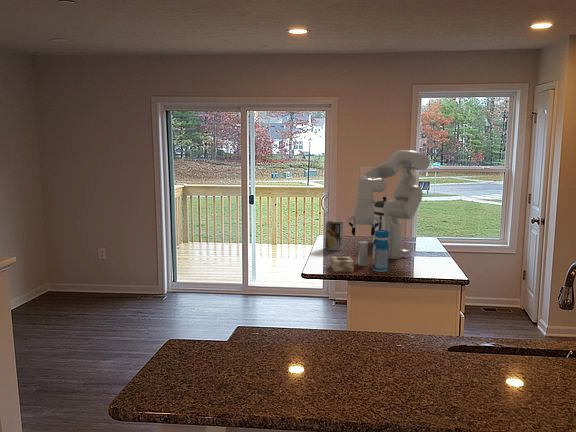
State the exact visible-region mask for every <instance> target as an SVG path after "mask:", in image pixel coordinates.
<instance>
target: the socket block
mask: <svg viewBox="0 0 576 432" xmlns="http://www.w3.org/2000/svg"><path fill="white" fill-rule="evenodd" d="M354 266H355V262H354V260H353V258H352V257H351V256H330V268H331V270H332V271H333V272H354V270H355V269H354Z"/></svg>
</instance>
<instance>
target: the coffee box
mask: <svg viewBox="0 0 576 432" xmlns="http://www.w3.org/2000/svg"><path fill="white" fill-rule="evenodd" d="M343 231H344V222H342V221H331V220H329V221H326V222H325V246H324V249H325V251H328V250H329V251H336V252H337V251H339V252H340V251H342V250H343V239H344V238H343V234H344V233H343Z"/></svg>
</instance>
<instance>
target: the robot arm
mask: <svg viewBox="0 0 576 432" xmlns="http://www.w3.org/2000/svg"><path fill="white" fill-rule="evenodd" d="M430 163H431V162H430V158H429V157H428V155H426V154H423V153H421V152H418V151H415V150H407V149H406V150H405V149H402V150H401V149H400V150H395V152H393V153H392V154H391V156H389V157H388V158H387V160H385V161H384V163H382V164H379V165H377V166H375V167H373V168H371V169H369V170H368V171H366V172H365V173H364V174H363V175H362V177H361V178H359V179H358V187H357V188H358V189H357V201H356V202H357V203H356V204H355V206H354V212H353V215H352V216H350V217H348V218H347V219H346V221H347V222H348V225H349V226H351V234H352V236H355V237H356V226H357V225H360V226H363V225H367V226H371V228H370V230H371V231H370V235H371V236H372V237H373V236H374V234H375V228H376V227H377V226H378V225H379V223H380V221H381V220H380V219H378V218H376V217H375V216H374V204H375V202H376V200H374V197H373V196H374V193H382V192H384V191H385V190H386V188H387V181H386V180H385V179H389V178H391V177H392V178H393V177H394V176H395V175H397V174H398V172H399V171H400V172H401V174H400V178H399V181H398V182H397V185H396V186H395V189H394V191H393V198H394V199H388V200H386V201H387V202H385V204H384V207H383V211H384V221H385V223H384V230H387V231H389V237H388V238H387V239H388V241H389V244H390V246H389V249H390V251H389V260H400V259H402V258H403V257H404V255H405V254H407V255H409V254H410V250H408V249H407V250H406V249H402V248H401V247H402V231H403V225H402V222H401V219H402V220H411V219H413V218H414V216H415V214H416V213H417V210H418V208H419V206H420V204H421V202H422V199H423V196H424V195H423V193H424V192H423V190H422V188H421V187H420V186H419V185H415V184H416V180H417V179H416V176H415V174H414V173H415V172H414V171H426V170H427V169H429V167H430ZM374 219H375V220H377V223H376V224H374ZM352 220H353V221H352ZM352 222H353V223H352Z"/></svg>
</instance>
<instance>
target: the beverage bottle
mask: <svg viewBox="0 0 576 432" xmlns="http://www.w3.org/2000/svg"><path fill="white" fill-rule="evenodd" d="M375 237H376V239H375V240H374V242H373V241H372V243H373V244H372V249H371V250H372V263H371V270H373V271H375V272H379V273H382V272H383V273H384V272H385V273H386V272H388V271H389V260H390V259H389V251H390V249H389V246H390V244H389V241H388V239H387V238H388V237H389V231H387V230H376V231H375Z"/></svg>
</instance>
